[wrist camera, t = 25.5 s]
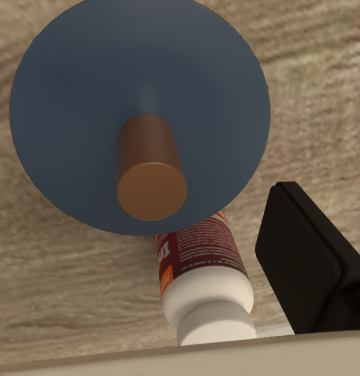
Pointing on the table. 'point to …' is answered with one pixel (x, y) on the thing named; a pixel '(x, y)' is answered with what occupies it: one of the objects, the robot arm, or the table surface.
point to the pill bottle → (205, 284)
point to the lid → (139, 114)
